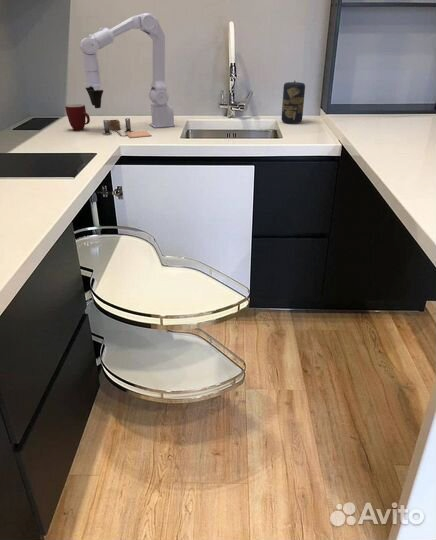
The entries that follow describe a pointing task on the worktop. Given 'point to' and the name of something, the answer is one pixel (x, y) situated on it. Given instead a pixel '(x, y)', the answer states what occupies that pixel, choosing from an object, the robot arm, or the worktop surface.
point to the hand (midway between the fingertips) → (96, 106)
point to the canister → (293, 102)
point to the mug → (77, 116)
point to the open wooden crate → (114, 124)
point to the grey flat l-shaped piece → (119, 133)
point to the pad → (138, 134)
